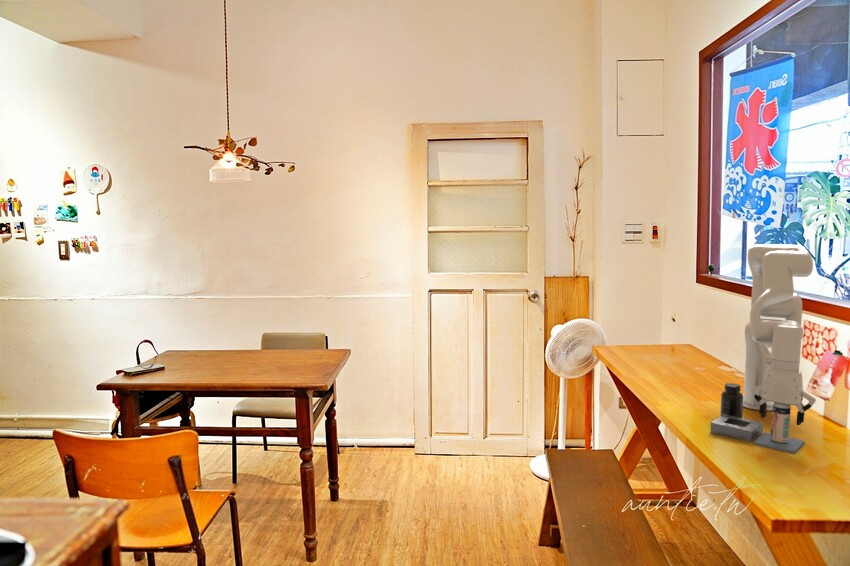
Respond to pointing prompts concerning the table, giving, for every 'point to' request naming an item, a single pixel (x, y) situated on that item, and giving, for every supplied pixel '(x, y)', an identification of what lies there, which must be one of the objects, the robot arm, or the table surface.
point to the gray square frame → (736, 428)
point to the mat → (789, 446)
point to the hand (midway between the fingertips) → (780, 420)
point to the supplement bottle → (732, 400)
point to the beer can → (780, 422)
